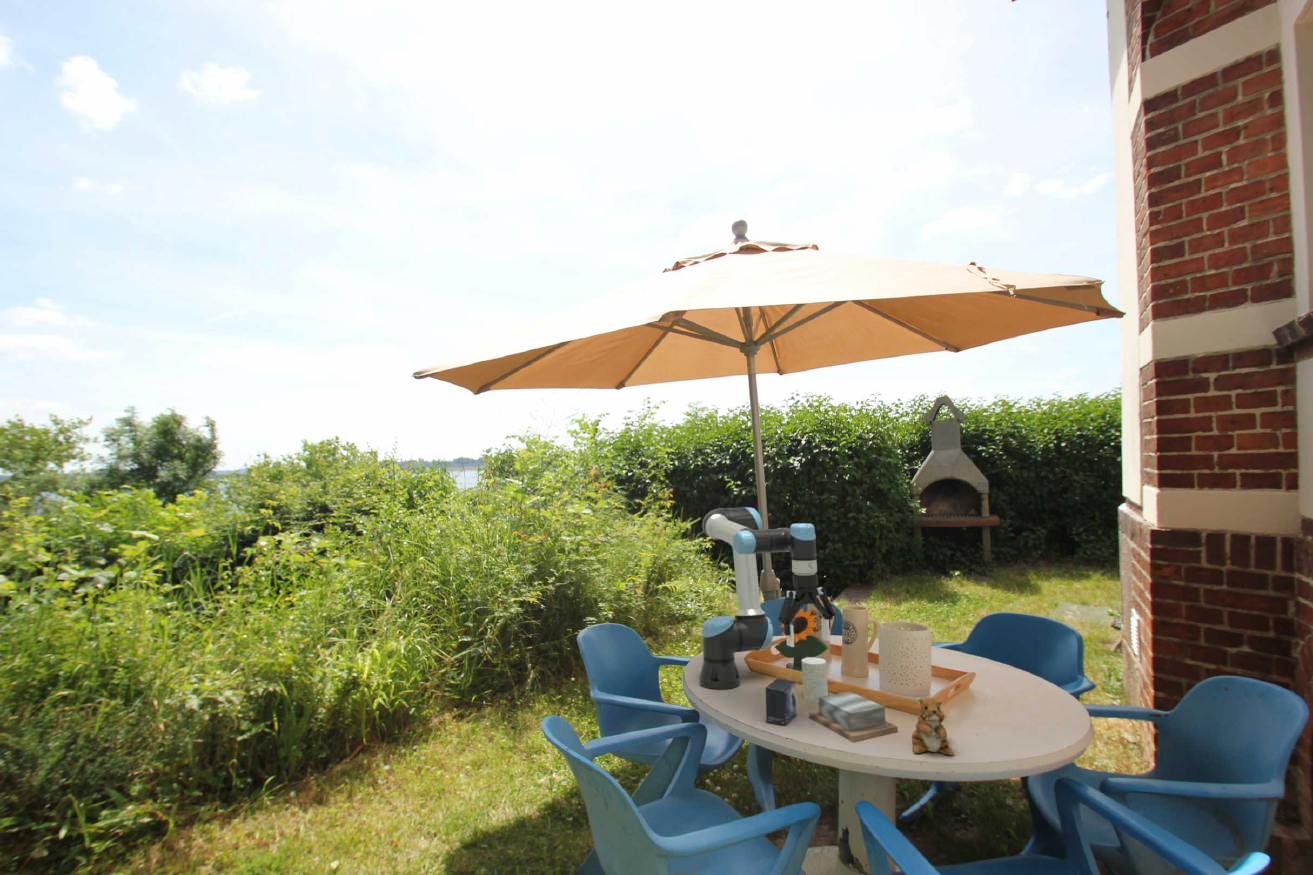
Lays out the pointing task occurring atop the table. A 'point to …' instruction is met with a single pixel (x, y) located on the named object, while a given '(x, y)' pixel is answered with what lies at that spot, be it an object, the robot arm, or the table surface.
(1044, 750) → the table surface
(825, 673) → the cup
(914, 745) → the stuffed squirrel
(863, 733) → the building base
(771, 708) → the small box
